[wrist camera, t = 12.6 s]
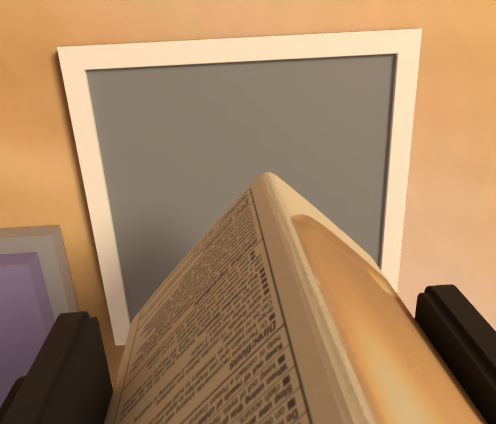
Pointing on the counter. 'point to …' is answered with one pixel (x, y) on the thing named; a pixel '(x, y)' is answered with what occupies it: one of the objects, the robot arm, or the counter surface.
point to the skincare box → (281, 331)
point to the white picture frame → (237, 142)
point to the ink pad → (30, 296)
